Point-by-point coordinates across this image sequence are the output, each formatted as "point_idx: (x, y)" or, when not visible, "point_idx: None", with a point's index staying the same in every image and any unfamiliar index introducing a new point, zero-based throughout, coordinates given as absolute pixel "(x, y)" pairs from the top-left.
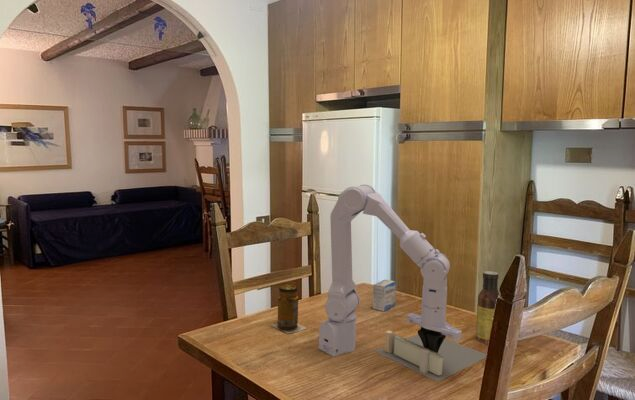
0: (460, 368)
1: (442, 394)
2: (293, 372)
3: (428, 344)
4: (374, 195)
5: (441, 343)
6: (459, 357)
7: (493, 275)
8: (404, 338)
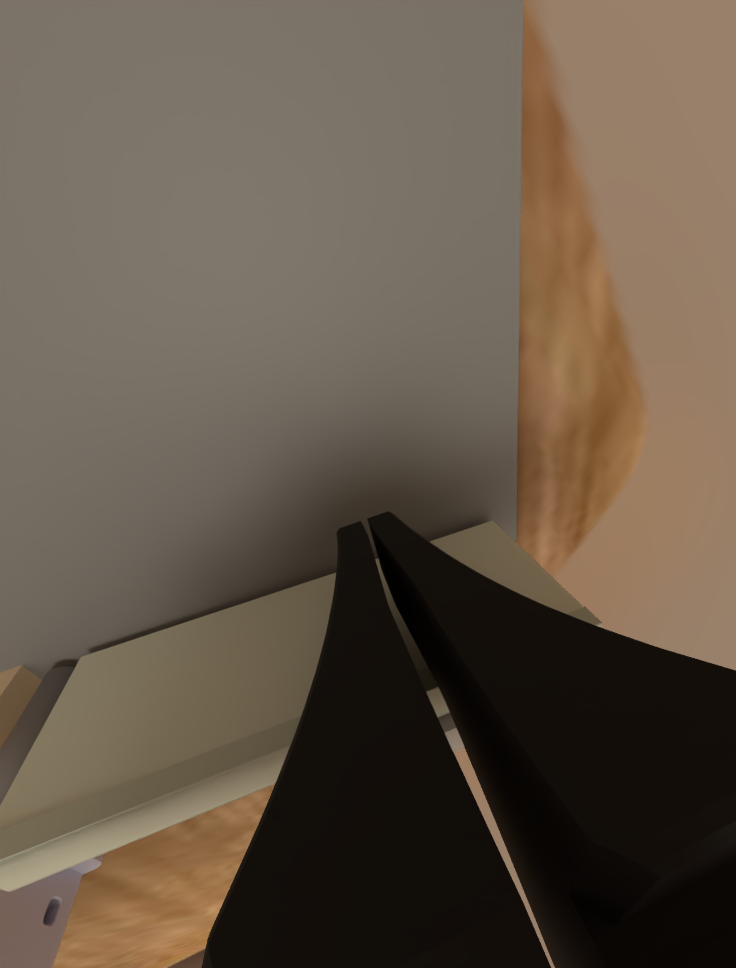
0: (500, 315)
1: (560, 569)
2: (190, 906)
3: (465, 742)
4: None
5: (518, 597)
6: (320, 67)
7: None
8: (89, 827)
